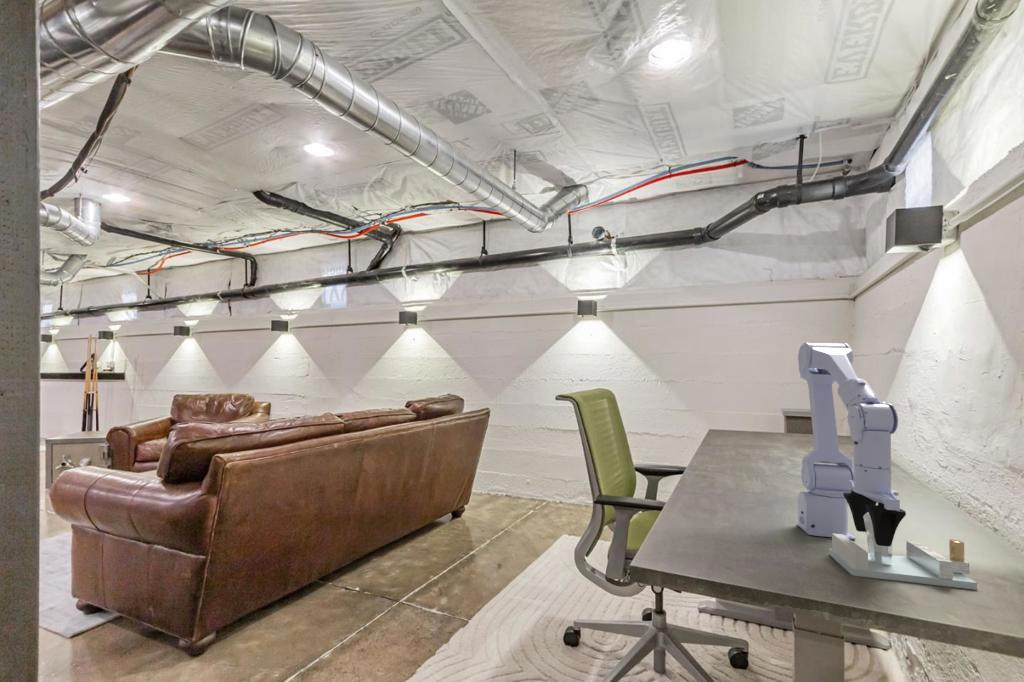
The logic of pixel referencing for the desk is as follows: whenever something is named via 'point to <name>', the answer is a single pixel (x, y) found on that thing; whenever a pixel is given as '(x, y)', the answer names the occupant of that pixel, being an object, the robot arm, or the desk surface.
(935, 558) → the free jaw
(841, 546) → the pale blue stepped plate
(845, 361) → the robot arm
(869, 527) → the milkshake
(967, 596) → the desk surface
